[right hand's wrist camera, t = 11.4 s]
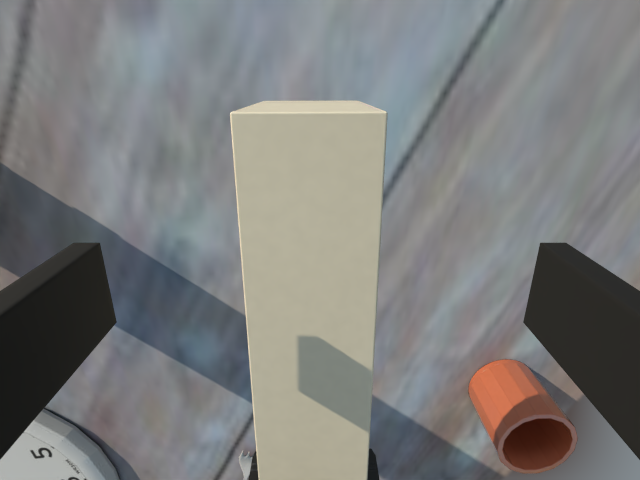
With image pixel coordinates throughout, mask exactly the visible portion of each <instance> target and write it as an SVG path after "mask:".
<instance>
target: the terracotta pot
mask: <svg viewBox="0 0 640 480" xmlns="http://www.w3.org/2000/svg"><path fill="white" fill-rule="evenodd" d="M469 397H470V399H471V401H472V404H473V406H474V408H475V410H476V412H477V414H478V416H479V418H480V420H481V422H482V424H483V426H484V428H485V430H486V433H487V435H488V437H489V439H490V441H491V443H492V445H493V447H494V449H495V451H496V453H497V455H498V457H499V459H500V461H501V462H502V463H503V464H504V465H505V466H507V467H508V468H509V469H510V470H513V471H517V472H520V473H540V472H544V471H547V470H551V469H553V468H555V467H557V466H558V465H560V464H561V463H563V462H565V461H566V460H567V459H568V457H569V456H570V455H571V454H572V453H573V451H574V450H575V446H576V443H577V440H578V437H577V433H576V429H575V427H574V425H573V424H572V423H571V421H570V420H569V419H568V417H567V416H566V415H565V413H564V412H563V411H562V410H561V408H560V407H559V406H558V404H557V403H556V402H555V400H554V399H553V398H552V396H551V395H550V394H549V392H548V391H547V390H546V388H545V387H544V386H543V384H542V383H541V382H540V380H539V379H538V378H537V377H536V375H535V374H534V373H533V372H532V371H531V369H530V368H529V367H528V366H526V365H525V364H523V363H521V362H519V361H516V360H508V359H506V360H498V361H494V362H491V363H489V364H487V365H485V366H483V367H482V368H481V369H479V370H478V371H477V372H476V373H475V375H474V376H473V377H472V379H471V381H470V384H469Z"/></svg>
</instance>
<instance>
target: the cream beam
mask: <svg viewBox="0 0 640 480" xmlns="http://www.w3.org/2000/svg"><path fill="white" fill-rule="evenodd" d="M230 119H231V132H232V145H233V158H234V171H235V183H236V196H237V209H238V222H239V235H240V247H241V260H242V273H243V286H244V299H245V311H246V324H247V337H248V350H249V363H250V376H251V388H252V401H253V414H254V427H255V440H256V452H257V465H258V478H259V480H367V477H368V458H369V440H370V422H371V404H372V386H373V368H374V349H375V331H376V313H377V295H378V277H379V258H380V240H381V222H382V204H383V186H384V168H385V149H386V131H387V112H386V111H383V110H380V109H378V108H375V107H373V106H370V105H368V104H365V103H362V102H360V101H263V102H260V103H257V104H254V105H251V106H248V107H245V108H242V109H239V110H236V111H233V112H231V113H230Z"/></svg>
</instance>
